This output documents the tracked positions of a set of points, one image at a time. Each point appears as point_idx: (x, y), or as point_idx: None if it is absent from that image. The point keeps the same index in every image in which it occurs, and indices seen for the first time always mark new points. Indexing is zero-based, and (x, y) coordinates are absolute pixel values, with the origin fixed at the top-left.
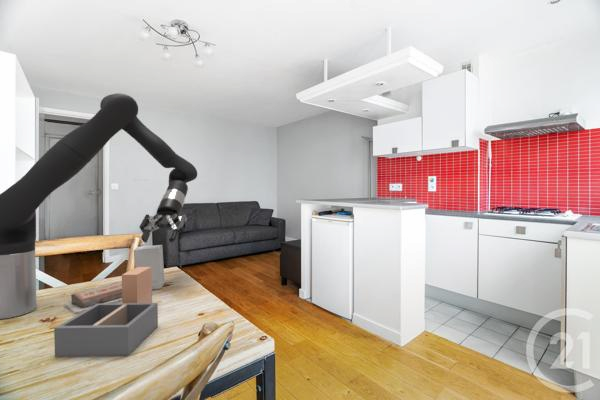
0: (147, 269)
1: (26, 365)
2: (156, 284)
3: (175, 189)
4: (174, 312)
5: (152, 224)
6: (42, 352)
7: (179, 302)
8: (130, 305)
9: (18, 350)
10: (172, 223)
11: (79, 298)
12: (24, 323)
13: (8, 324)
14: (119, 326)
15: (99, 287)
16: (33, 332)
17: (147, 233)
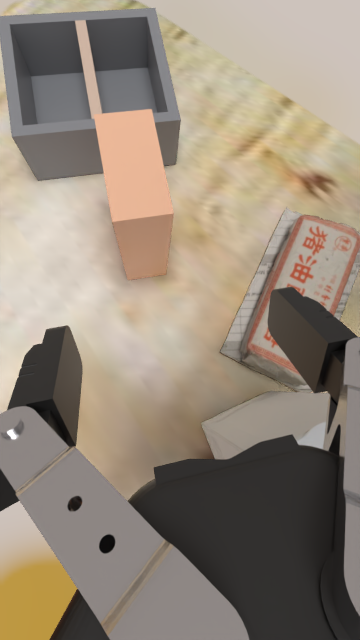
0: (107, 190)
1: (176, 47)
2: (216, 419)
3: None
4: (39, 254)
5: (345, 393)
6: (190, 78)
7: (63, 321)
8: (83, 122)
9: (238, 80)
10: (42, 472)
11: (314, 216)
12: (347, 164)
13: None
14: (20, 18)
15: (331, 284)
16: (284, 134)
17: (306, 338)
